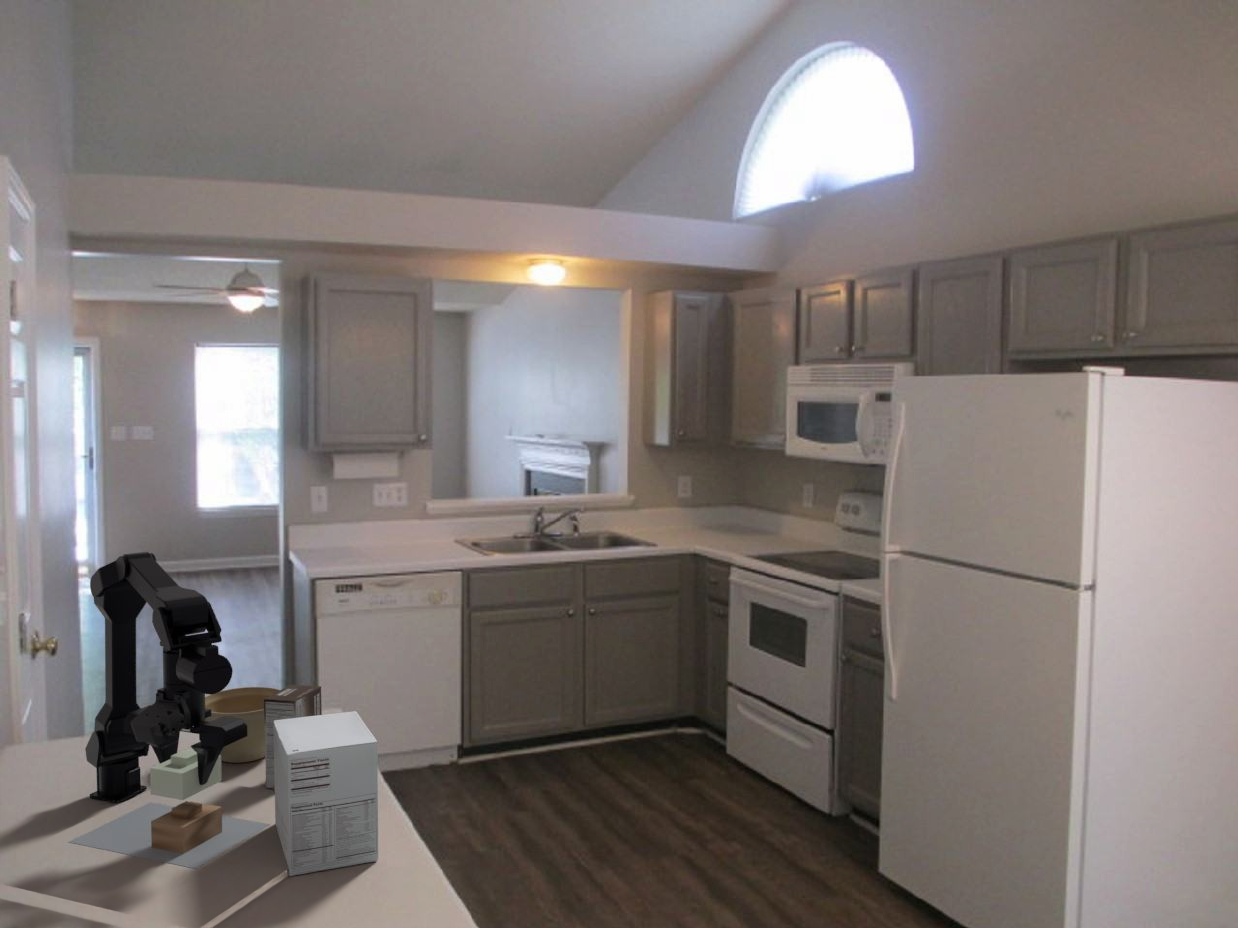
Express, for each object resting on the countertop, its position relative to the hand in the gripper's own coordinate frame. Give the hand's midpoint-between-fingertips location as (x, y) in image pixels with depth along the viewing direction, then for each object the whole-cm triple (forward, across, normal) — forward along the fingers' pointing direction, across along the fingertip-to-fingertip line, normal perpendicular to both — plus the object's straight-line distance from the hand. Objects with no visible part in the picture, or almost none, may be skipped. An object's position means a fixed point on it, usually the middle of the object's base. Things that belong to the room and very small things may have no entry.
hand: (186, 781), depth 154 cm
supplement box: (+10, +19, +8) cm, 23 cm away
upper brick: (+1, 0, 0) cm, 1 cm away
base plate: (+10, -4, +1) cm, 11 cm away
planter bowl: (+11, -19, +35) cm, 41 cm away
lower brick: (+9, 0, 0) cm, 9 cm away
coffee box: (+10, -2, +28) cm, 30 cm away
